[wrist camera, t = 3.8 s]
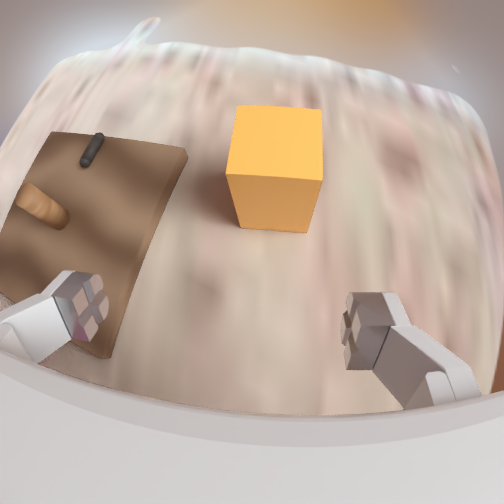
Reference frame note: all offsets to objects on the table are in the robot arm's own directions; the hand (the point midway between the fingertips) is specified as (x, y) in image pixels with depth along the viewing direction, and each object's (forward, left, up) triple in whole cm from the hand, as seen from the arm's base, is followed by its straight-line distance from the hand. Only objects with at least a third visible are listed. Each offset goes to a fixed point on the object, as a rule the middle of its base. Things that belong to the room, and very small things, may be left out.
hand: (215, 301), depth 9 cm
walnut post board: (+2, +18, -12) cm, 22 cm away
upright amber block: (+9, +1, -12) cm, 16 cm away
